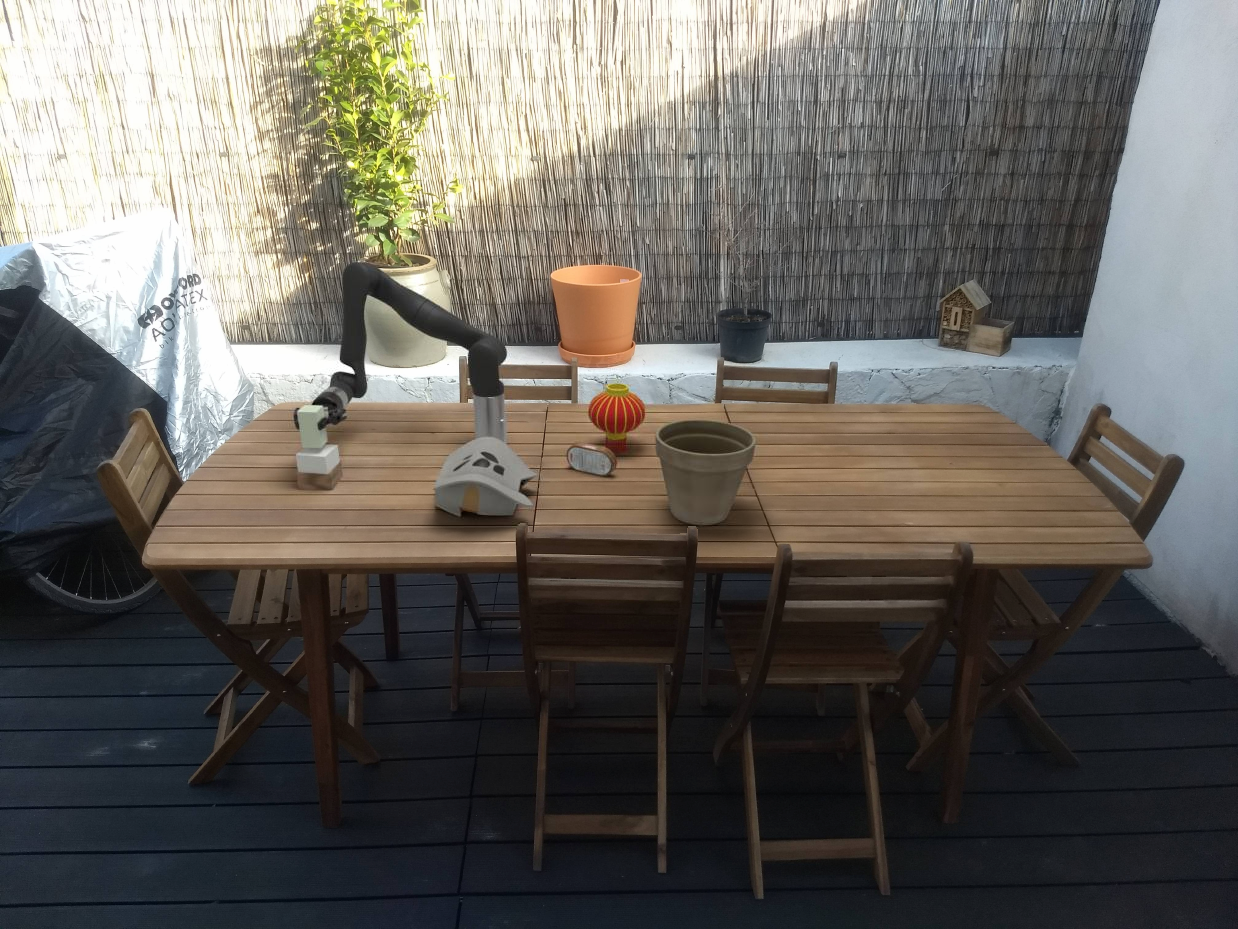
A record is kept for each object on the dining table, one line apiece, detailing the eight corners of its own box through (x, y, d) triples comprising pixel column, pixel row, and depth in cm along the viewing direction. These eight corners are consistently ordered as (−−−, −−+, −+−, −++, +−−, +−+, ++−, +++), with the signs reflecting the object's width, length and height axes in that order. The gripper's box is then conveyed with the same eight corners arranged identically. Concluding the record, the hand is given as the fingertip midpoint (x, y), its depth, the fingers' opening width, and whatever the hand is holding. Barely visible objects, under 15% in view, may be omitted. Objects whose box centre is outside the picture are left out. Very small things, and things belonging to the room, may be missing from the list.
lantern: (578, 454, 239) (579, 357, 226) (601, 435, 253) (602, 343, 241) (631, 465, 233) (635, 366, 221) (651, 444, 248) (656, 350, 235)
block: (327, 440, 215) (322, 405, 211) (321, 447, 210) (316, 412, 206) (309, 440, 215) (303, 405, 211) (302, 447, 210) (296, 411, 206)
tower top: (339, 461, 218) (337, 445, 216) (327, 474, 211) (325, 456, 209) (311, 460, 219) (309, 443, 217) (298, 472, 212) (295, 455, 210)
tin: (617, 475, 226) (617, 448, 223) (612, 480, 224) (613, 452, 220) (570, 465, 232) (570, 438, 228) (564, 469, 229) (564, 442, 226)
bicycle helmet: (443, 475, 219) (452, 424, 213) (534, 495, 222) (545, 445, 216) (421, 524, 194) (430, 467, 187) (524, 545, 196) (537, 490, 190)
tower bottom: (343, 476, 221) (340, 460, 219) (332, 491, 213) (330, 474, 211) (310, 476, 221) (307, 459, 219) (298, 490, 213) (296, 473, 211)
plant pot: (694, 483, 223) (700, 410, 214) (767, 514, 207) (776, 436, 198) (631, 510, 207) (634, 433, 198) (705, 546, 191) (712, 464, 182)
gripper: (302, 390, 221) (278, 412, 206) (354, 391, 221) (334, 413, 206) (306, 415, 224) (282, 439, 209) (357, 417, 225) (337, 440, 209)
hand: (308, 426), depth 208 cm, fingers closed on block, 5 cm apart
